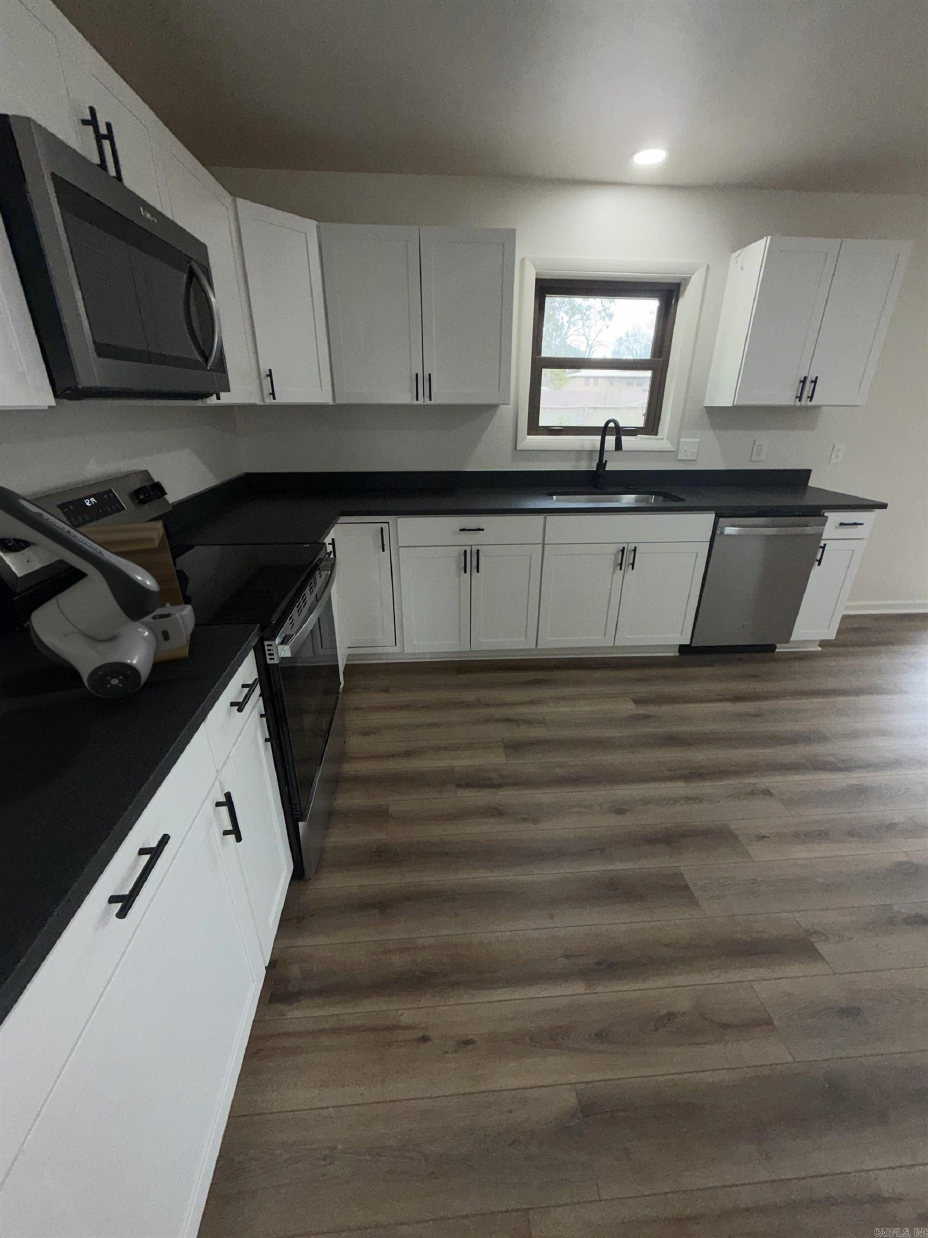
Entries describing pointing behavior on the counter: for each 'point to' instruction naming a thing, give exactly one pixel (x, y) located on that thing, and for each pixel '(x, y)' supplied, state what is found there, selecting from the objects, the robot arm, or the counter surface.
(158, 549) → the shelf
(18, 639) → the counter surface
